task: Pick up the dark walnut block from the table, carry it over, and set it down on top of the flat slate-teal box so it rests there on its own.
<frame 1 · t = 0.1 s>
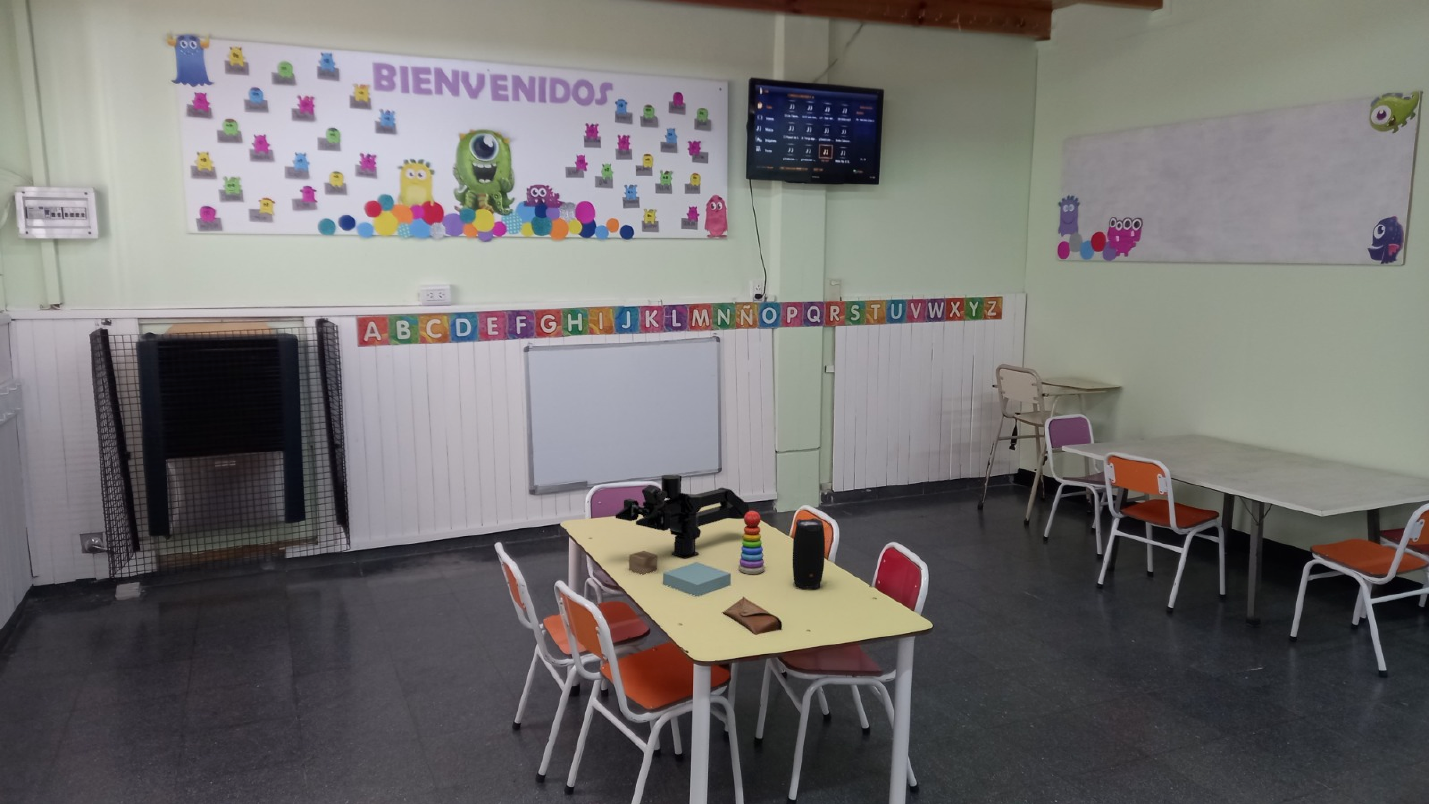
hand: (625, 519, 284), 17 cm above the table, tool horizontal, fingers open, 9 cm apart
teal base box: (696, 586, 278), on the table
stacking toy: (751, 571, 291), on the table
sunglasses case: (750, 623, 252), on the table
portable speaker: (807, 586, 279), on the table
walnut block: (643, 570, 290), on the table
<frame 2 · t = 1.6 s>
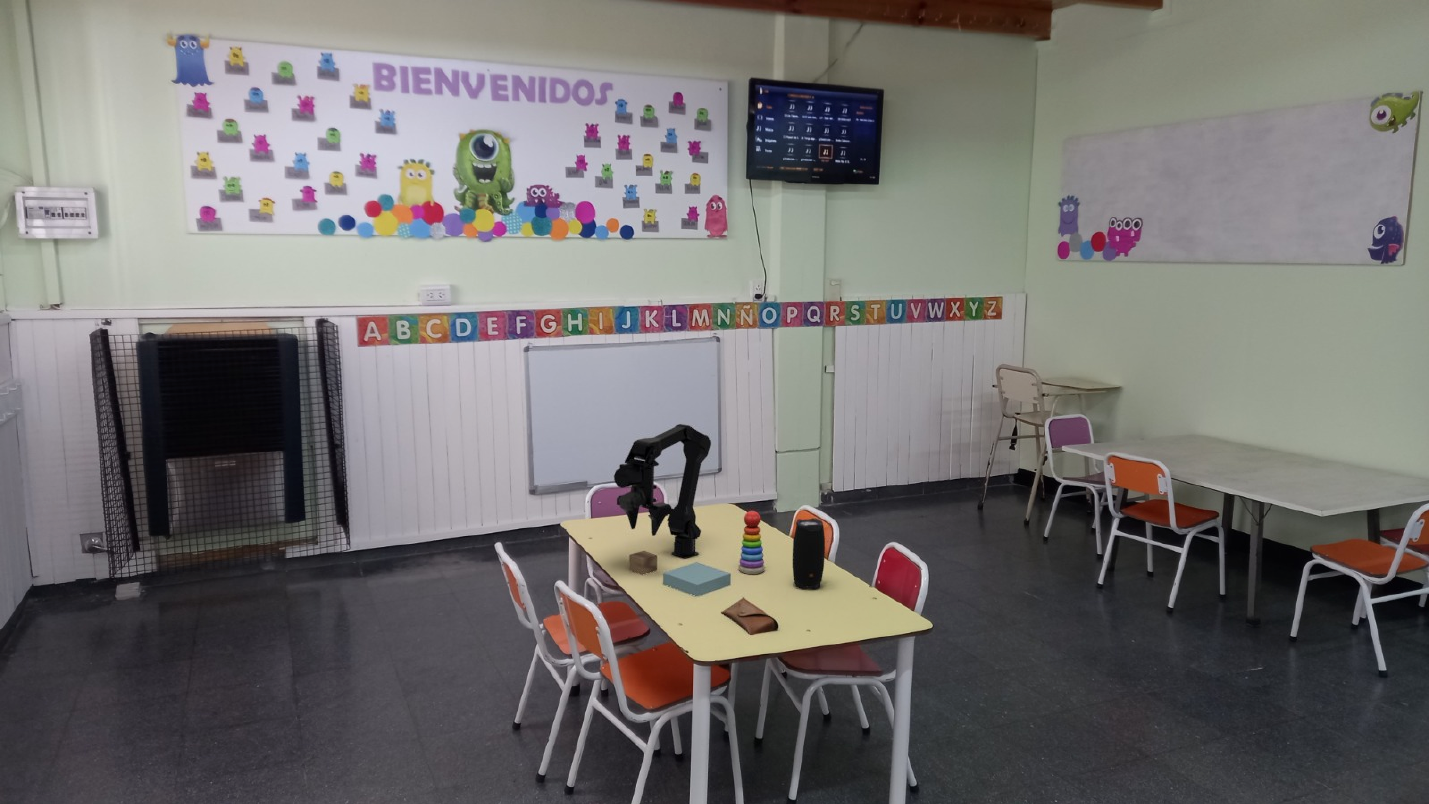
hand: (643, 532, 288), 12 cm above the table, tool pointing down, fingers open, 9 cm apart
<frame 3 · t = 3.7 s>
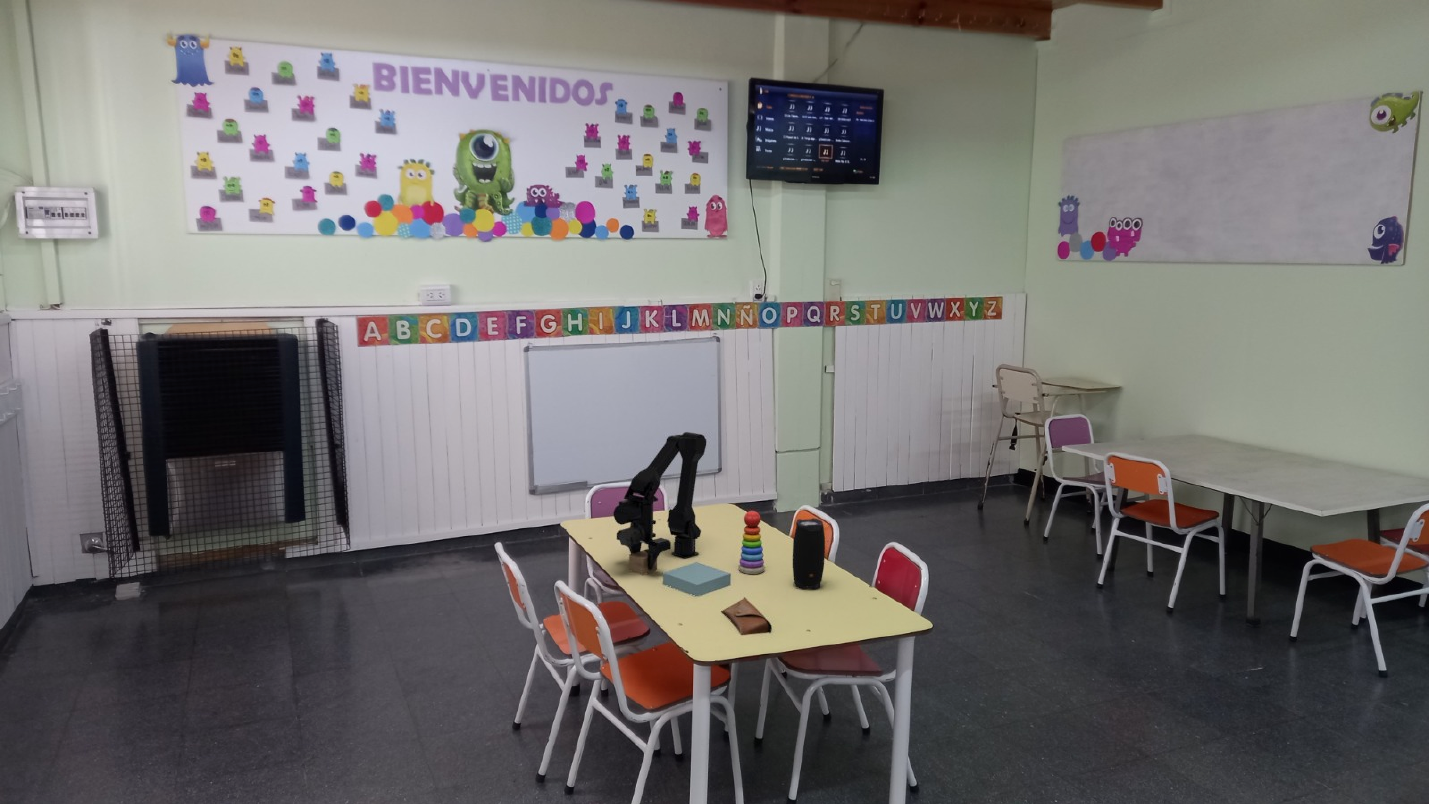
hand: (643, 567, 289), 1 cm above the table, tool pointing down, fingers closed on walnut block, 6 cm apart
walnut block: (643, 570, 289), on the table, touching gripper
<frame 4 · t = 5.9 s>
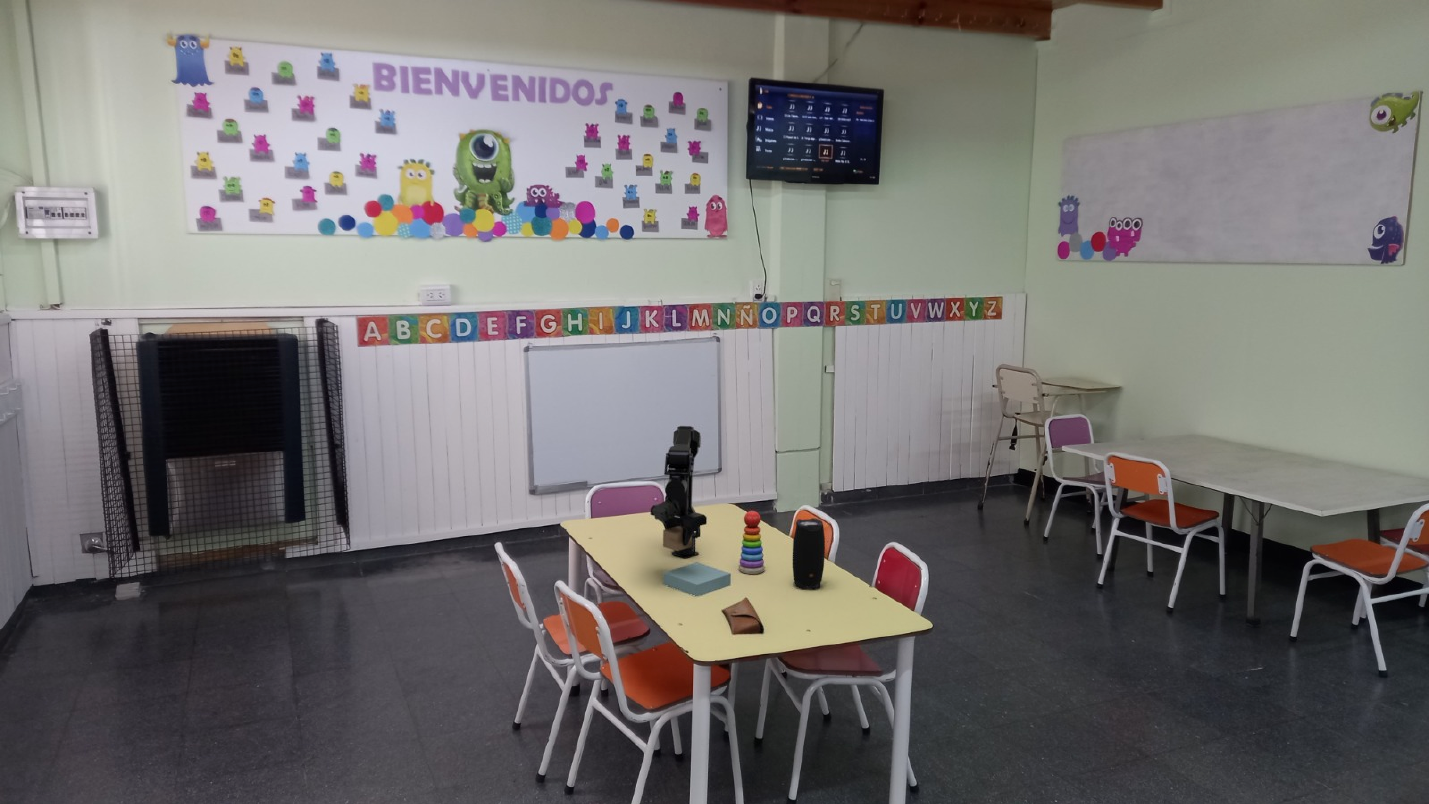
hand: (677, 543, 280), 11 cm above the table, tool pointing down, fingers closed on walnut block, 6 cm apart
walnut block: (677, 546, 280), point 10 cm above the table, touching gripper
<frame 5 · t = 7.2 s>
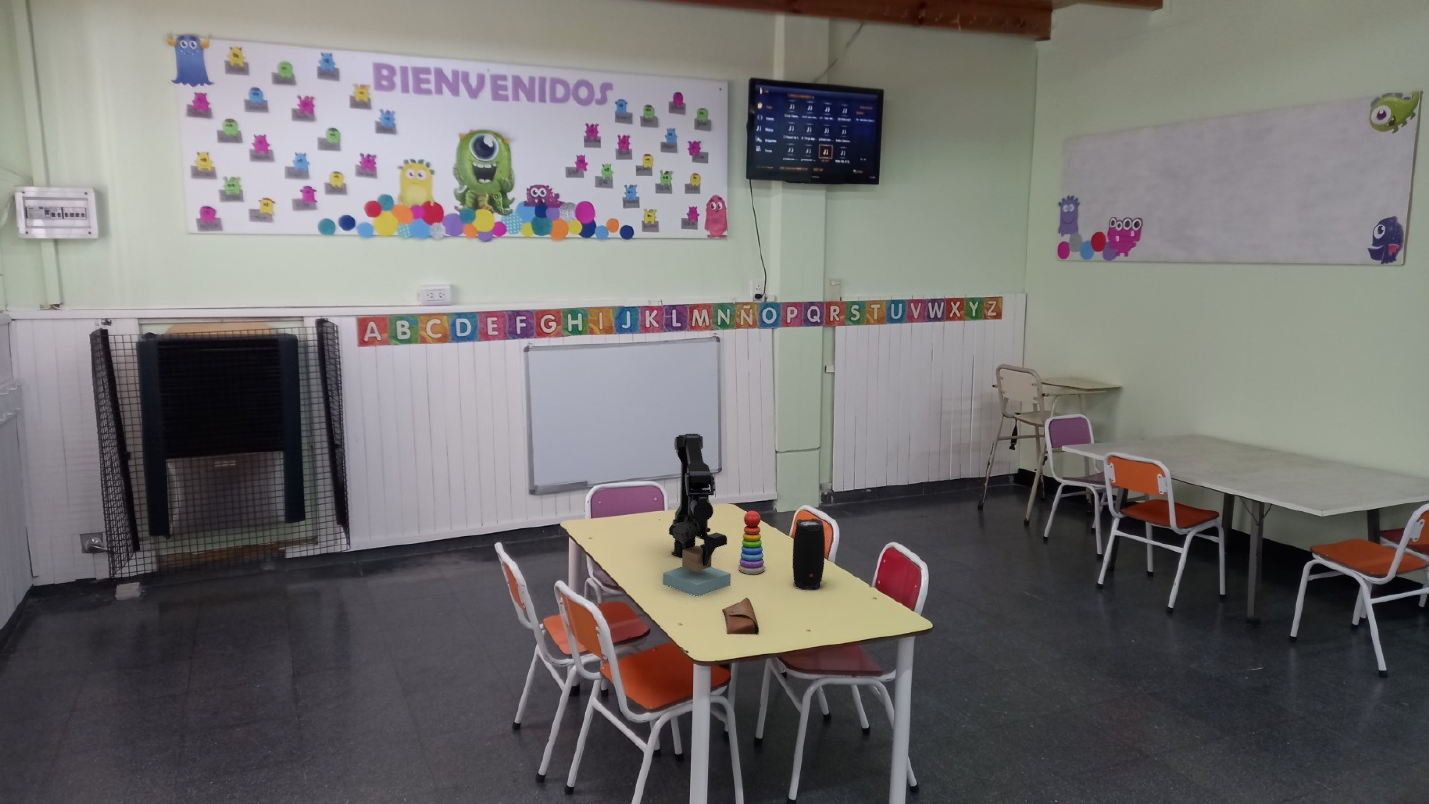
hand: (697, 563, 277), 7 cm above the table, tool pointing down, fingers closed on walnut block, 6 cm apart
walnut block: (696, 566, 277), point 5 cm above the table, touching gripper
when the fingers open (6 cm above the table, at t = 8.2 s): walnut block drops 1 cm, point 3 cm above the table.
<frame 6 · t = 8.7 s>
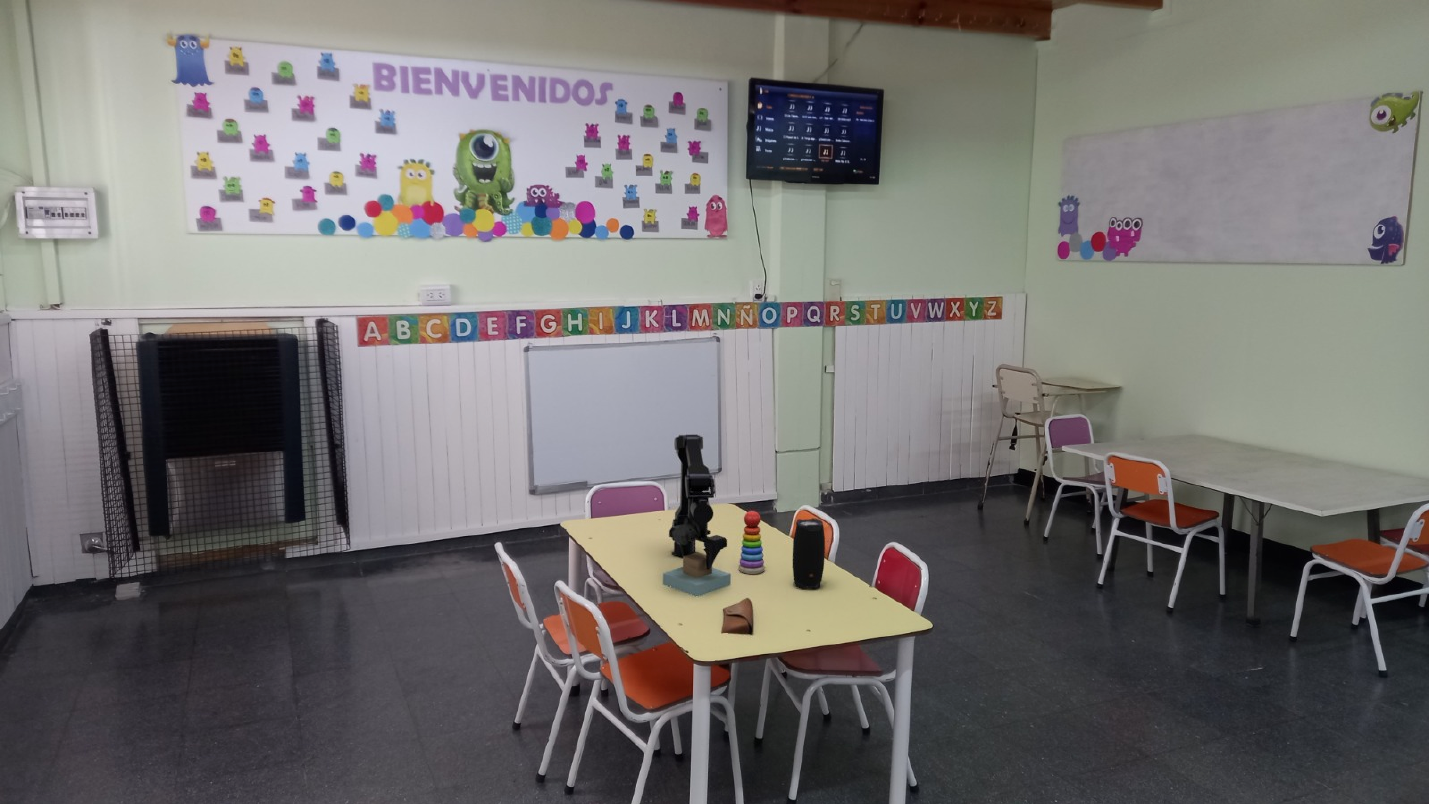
hand: (697, 565, 277), 6 cm above the table, tool pointing down, fingers open, 9 cm apart
walnut block: (697, 573, 278), point 3 cm above the table
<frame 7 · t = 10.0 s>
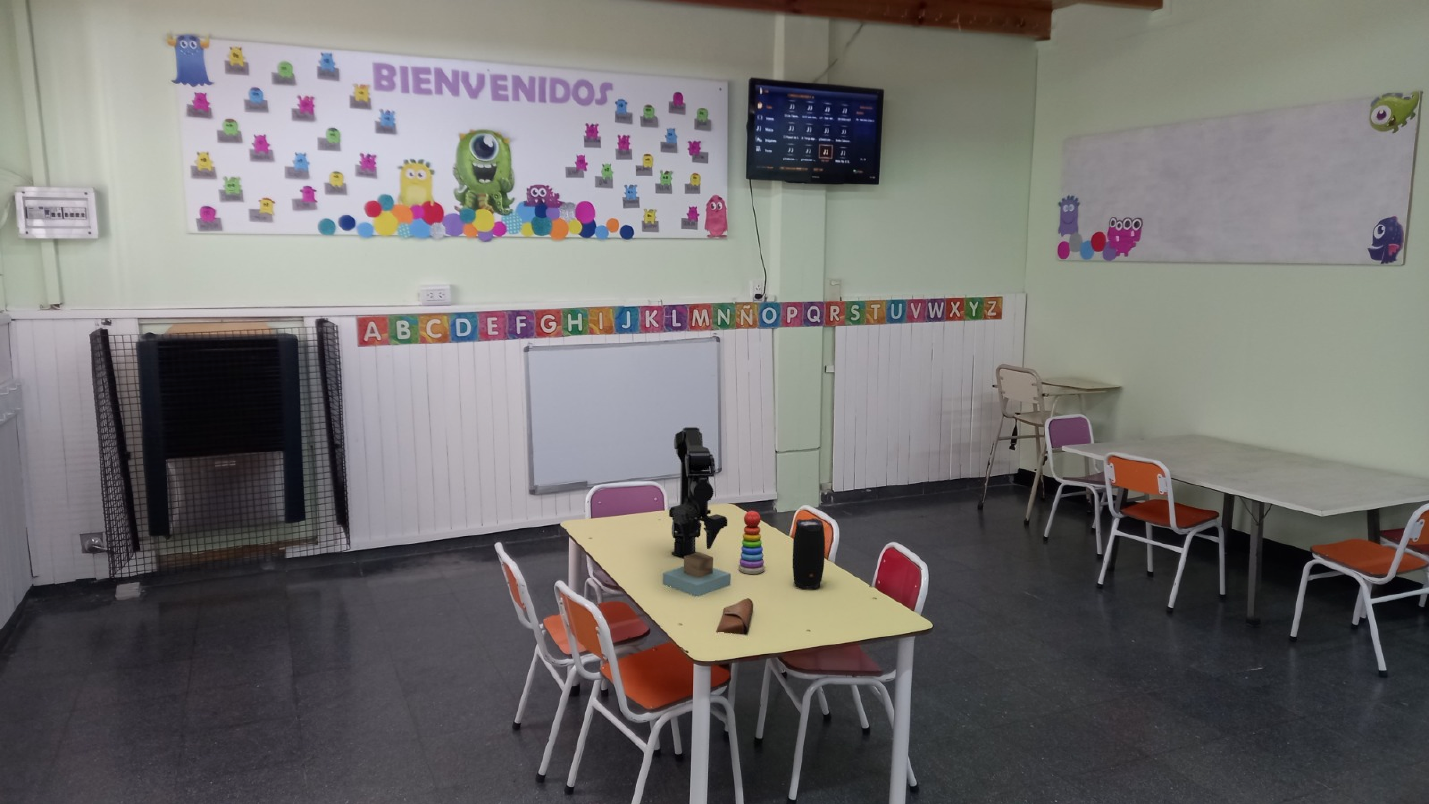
hand: (697, 545, 276), 12 cm above the table, tool pointing down, fingers open, 9 cm apart
teal base box: (696, 586, 278), on the table, touching walnut block
walnut block: (698, 573, 278), point 3 cm above the table, touching teal base box
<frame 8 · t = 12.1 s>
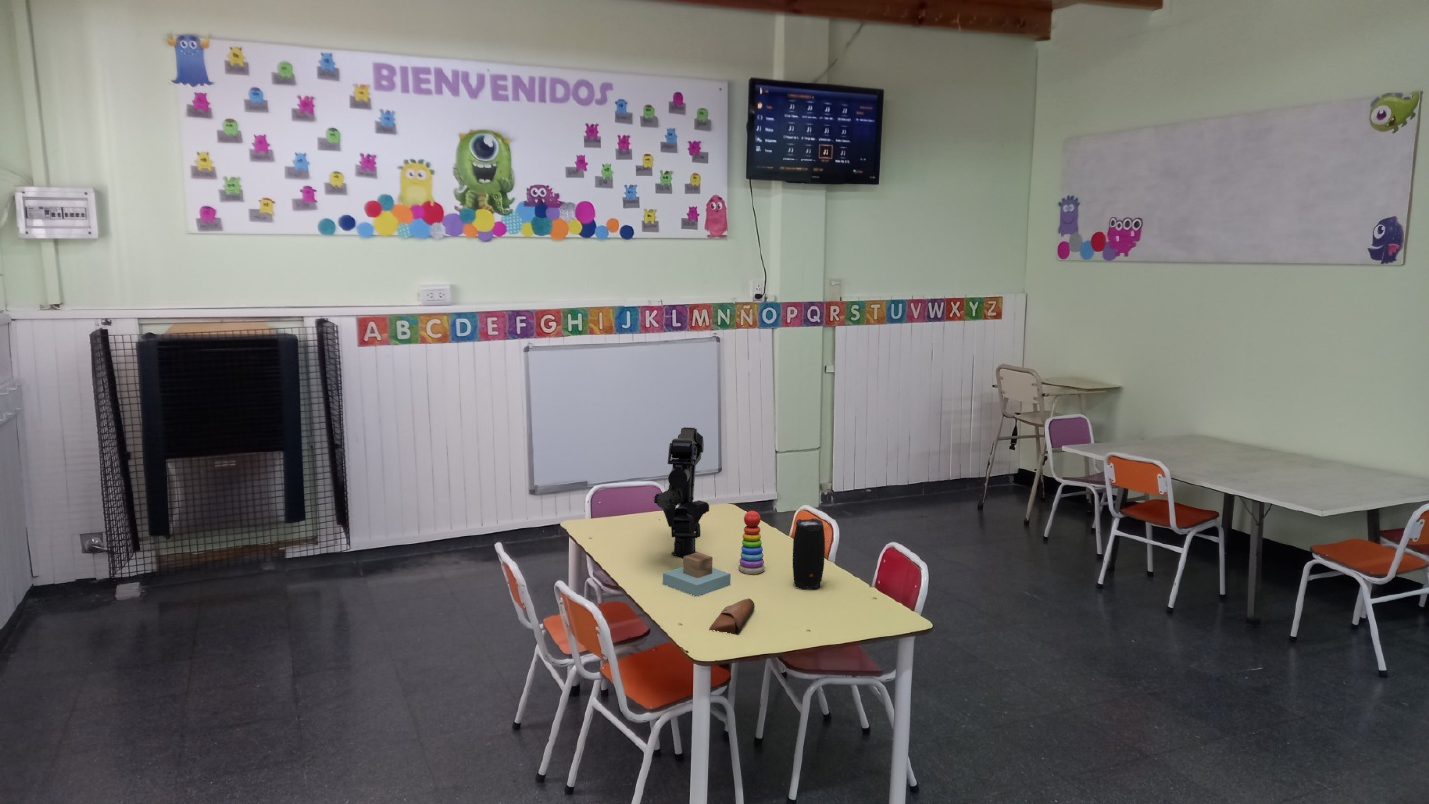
hand: (680, 530, 291), 12 cm above the table, tool pointing down, fingers open, 9 cm apart
at the end: walnut block inside the target area on the teal base box (0.3 cm from its centre), point 4.0 cm above the teal base box's base; walnut block tilted 0°; walnut block touching teal base box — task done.
